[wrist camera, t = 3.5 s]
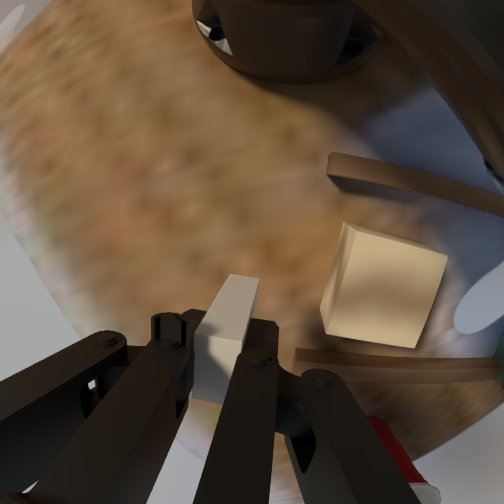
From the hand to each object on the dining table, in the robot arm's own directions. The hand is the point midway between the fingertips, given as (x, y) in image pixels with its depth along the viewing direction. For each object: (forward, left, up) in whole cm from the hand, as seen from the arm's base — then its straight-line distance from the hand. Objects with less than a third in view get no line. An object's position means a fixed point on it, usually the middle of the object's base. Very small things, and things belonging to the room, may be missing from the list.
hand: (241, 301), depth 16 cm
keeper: (0, +9, -8) cm, 12 cm away
